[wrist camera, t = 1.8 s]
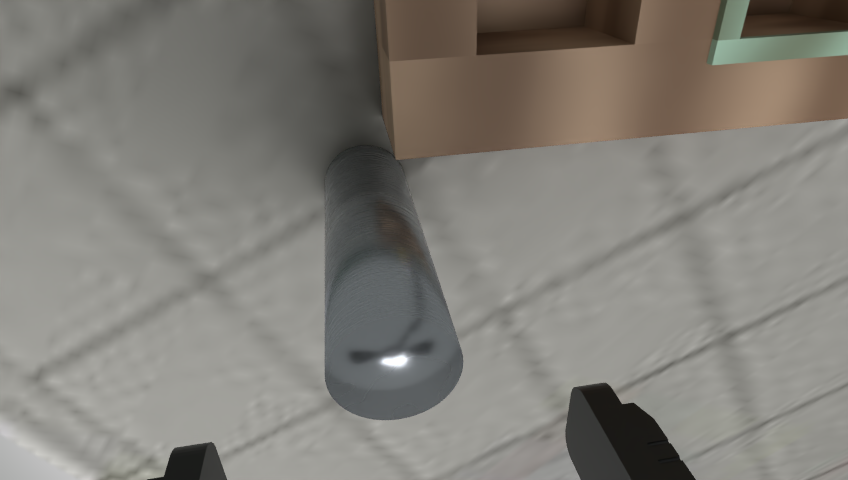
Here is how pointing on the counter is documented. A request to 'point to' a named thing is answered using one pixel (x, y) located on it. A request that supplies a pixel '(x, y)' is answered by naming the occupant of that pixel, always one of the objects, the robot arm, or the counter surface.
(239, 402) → the counter surface
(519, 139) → the bore block
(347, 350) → the pin
